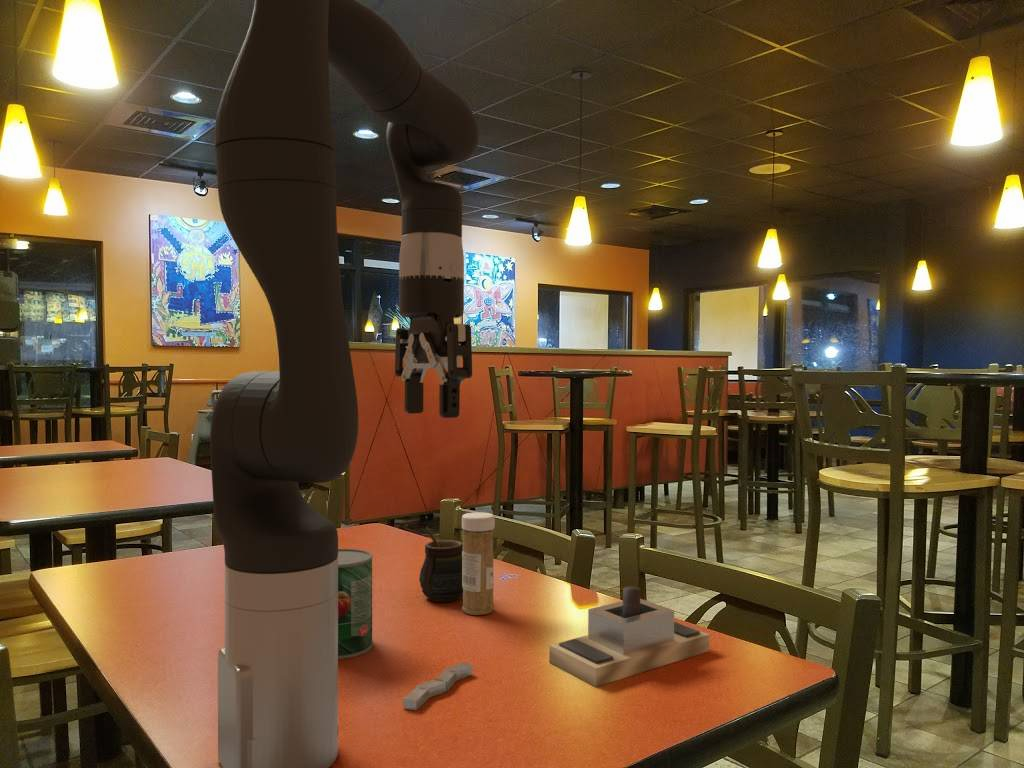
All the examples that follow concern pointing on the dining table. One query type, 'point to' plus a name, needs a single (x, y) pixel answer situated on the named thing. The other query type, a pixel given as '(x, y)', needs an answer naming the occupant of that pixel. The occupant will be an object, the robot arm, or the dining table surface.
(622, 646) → the link
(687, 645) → the beige holder base
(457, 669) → the slack chain
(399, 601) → the dining table surface
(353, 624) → the canned tomato
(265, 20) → the robot arm
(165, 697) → the dining table surface
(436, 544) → the mate gourd
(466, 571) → the spice jar
